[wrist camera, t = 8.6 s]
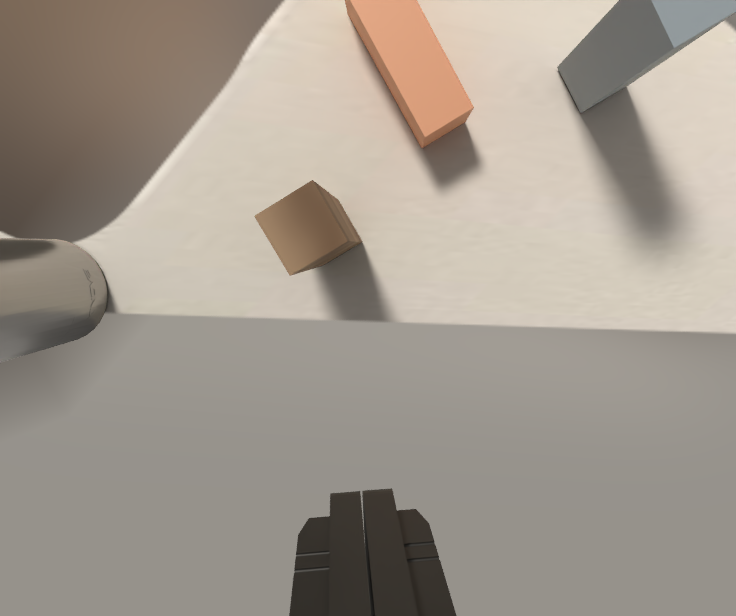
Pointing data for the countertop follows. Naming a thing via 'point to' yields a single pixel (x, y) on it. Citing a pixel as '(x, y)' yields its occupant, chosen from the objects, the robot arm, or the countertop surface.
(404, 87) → the terracotta pillar
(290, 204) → the walnut pillar
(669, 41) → the slate pillar
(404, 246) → the countertop surface
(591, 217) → the countertop surface
